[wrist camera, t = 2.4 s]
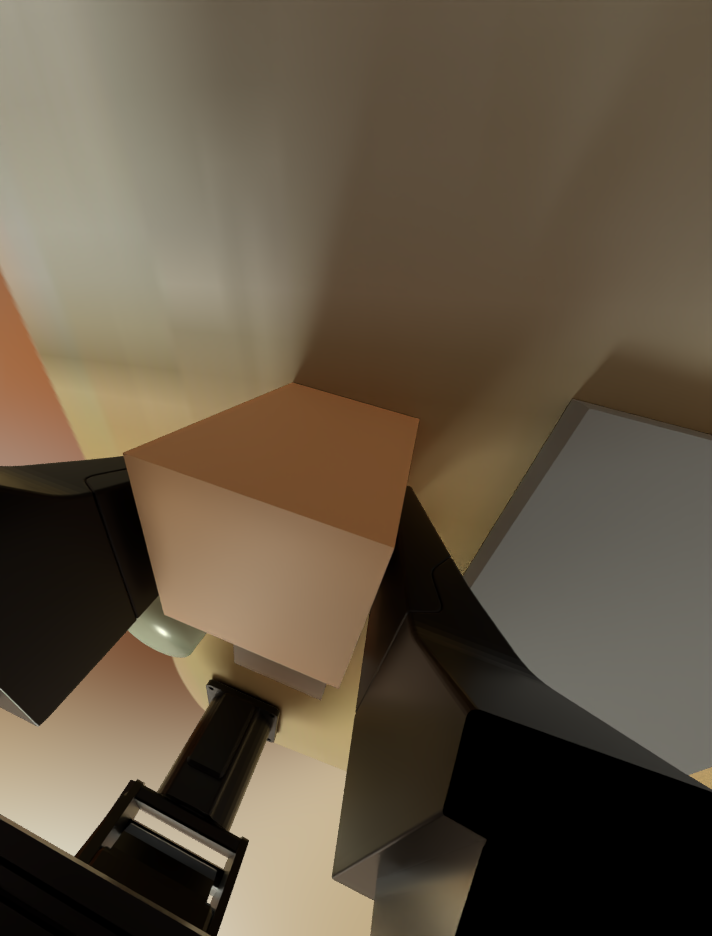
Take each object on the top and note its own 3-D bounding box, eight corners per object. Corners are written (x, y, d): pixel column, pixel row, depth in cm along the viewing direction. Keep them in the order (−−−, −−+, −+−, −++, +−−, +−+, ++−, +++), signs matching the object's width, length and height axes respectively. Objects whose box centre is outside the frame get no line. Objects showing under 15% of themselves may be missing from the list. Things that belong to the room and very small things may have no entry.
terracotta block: (384, 521, 11) (338, 689, 6) (283, 487, 12) (164, 614, 7) (419, 419, 9) (394, 548, 4) (292, 382, 10) (122, 452, 4)
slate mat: (604, 773, 15) (614, 800, 14) (394, 687, 17) (392, 706, 16) (1132, 544, 6) (1245, 580, 5) (572, 398, 8) (589, 408, 7)
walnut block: (348, 613, 15) (320, 700, 11) (280, 586, 15) (234, 662, 12) (364, 563, 13) (337, 651, 9) (285, 534, 13) (232, 607, 10)
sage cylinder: (246, 596, 16) (196, 668, 13) (188, 572, 17) (124, 636, 14) (246, 550, 14) (187, 620, 11) (180, 524, 15) (103, 584, 12)
